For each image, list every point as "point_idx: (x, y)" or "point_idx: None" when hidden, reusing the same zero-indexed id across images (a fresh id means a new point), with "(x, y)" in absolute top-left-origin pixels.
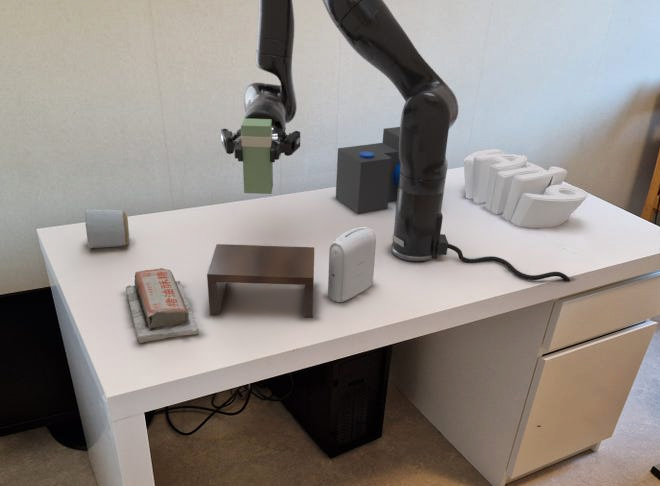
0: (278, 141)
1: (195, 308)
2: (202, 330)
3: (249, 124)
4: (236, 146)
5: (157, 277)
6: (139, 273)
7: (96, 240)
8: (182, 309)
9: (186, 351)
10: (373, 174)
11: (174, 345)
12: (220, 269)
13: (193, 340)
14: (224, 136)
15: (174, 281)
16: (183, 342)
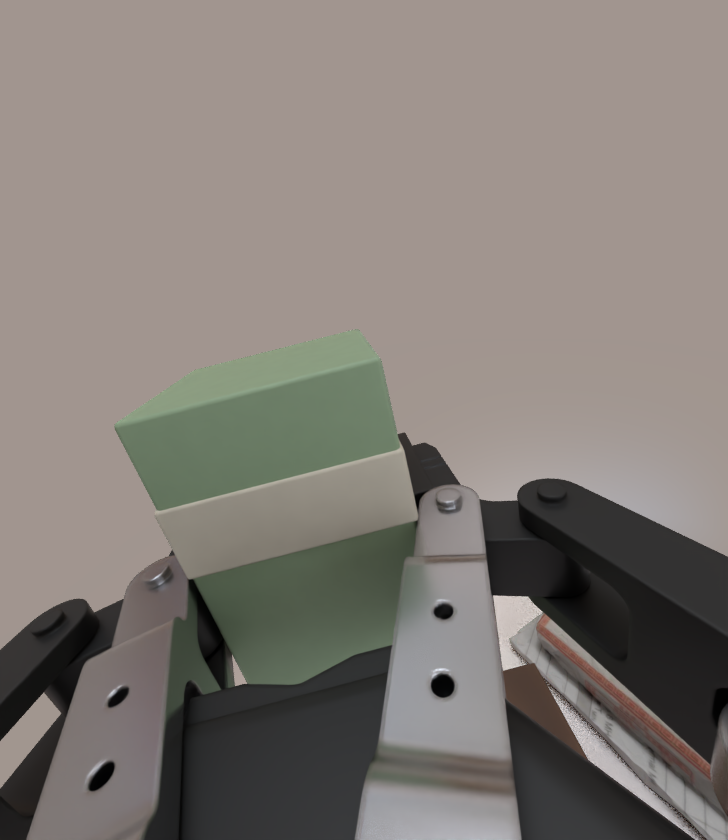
0: (152, 565)
1: (603, 765)
2: (515, 667)
3: (312, 342)
4: (438, 469)
5: None
6: None
7: None
8: (545, 620)
9: (500, 600)
10: None
11: (530, 608)
12: (517, 701)
13: (509, 631)
14: (630, 510)
15: (695, 753)
16: (522, 620)
